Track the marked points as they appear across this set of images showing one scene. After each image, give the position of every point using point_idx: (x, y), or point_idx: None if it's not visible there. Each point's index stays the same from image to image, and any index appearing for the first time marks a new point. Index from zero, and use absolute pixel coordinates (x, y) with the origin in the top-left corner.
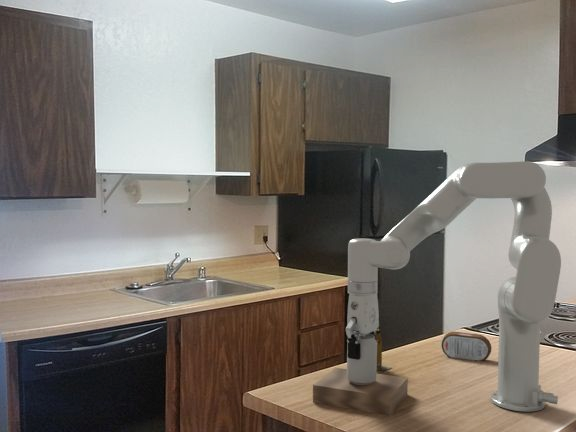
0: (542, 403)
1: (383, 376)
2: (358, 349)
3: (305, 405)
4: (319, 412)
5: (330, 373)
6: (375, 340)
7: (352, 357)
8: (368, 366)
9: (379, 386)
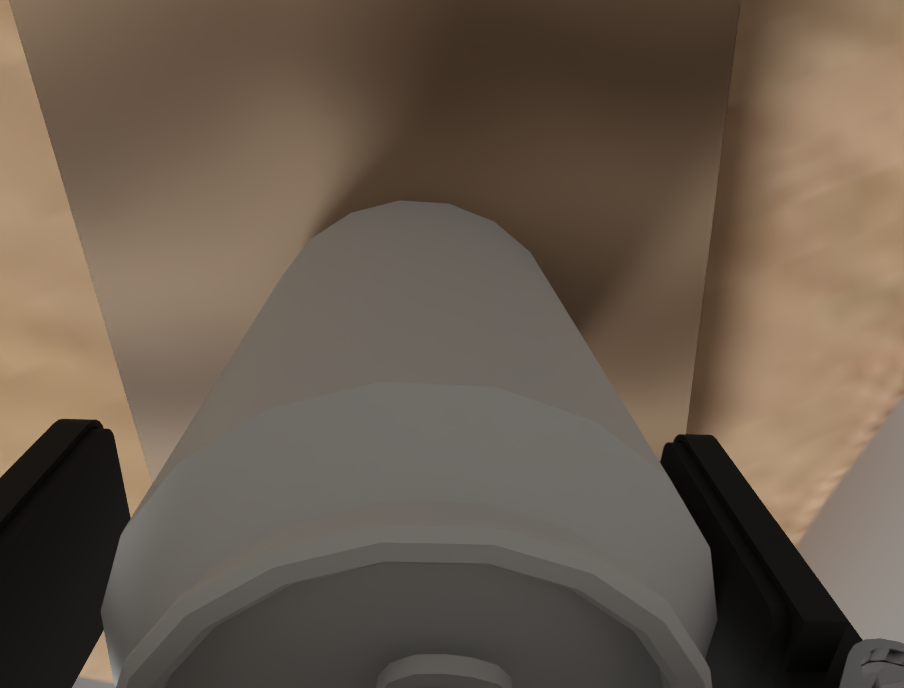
0: None
1: (136, 200)
2: (775, 549)
3: None
4: (786, 410)
5: None
6: (303, 466)
7: None
8: (551, 298)
9: (464, 125)
